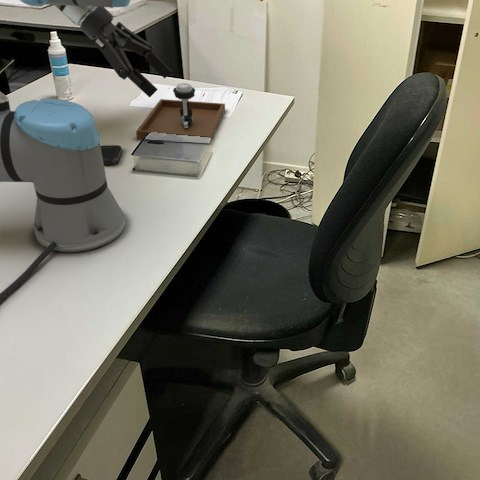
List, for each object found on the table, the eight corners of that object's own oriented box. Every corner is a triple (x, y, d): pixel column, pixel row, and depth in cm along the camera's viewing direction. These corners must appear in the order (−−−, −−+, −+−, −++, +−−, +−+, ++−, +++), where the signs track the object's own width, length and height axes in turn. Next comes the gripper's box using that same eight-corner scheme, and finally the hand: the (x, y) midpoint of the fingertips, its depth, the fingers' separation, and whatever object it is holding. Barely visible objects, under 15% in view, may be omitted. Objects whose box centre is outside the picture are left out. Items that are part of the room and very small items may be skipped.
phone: (116, 160, 122) (44, 160, 120) (117, 165, 122) (45, 165, 120) (122, 145, 128) (54, 144, 126) (123, 149, 129) (55, 149, 127)
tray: (209, 144, 134) (209, 136, 133) (137, 139, 134) (136, 131, 133) (225, 111, 152) (224, 103, 150) (161, 106, 152) (160, 99, 150)
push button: (196, 130, 139) (193, 91, 134) (174, 130, 139) (171, 91, 133) (198, 119, 145) (195, 82, 139) (177, 119, 144) (173, 82, 138)
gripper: (77, 17, 115) (157, 91, 124) (117, -7, 136) (183, 58, 145) (57, 41, 118) (136, 112, 127) (99, 14, 139) (164, 77, 148)
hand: (161, 83), depth 136 cm, fingers open, 13 cm apart
